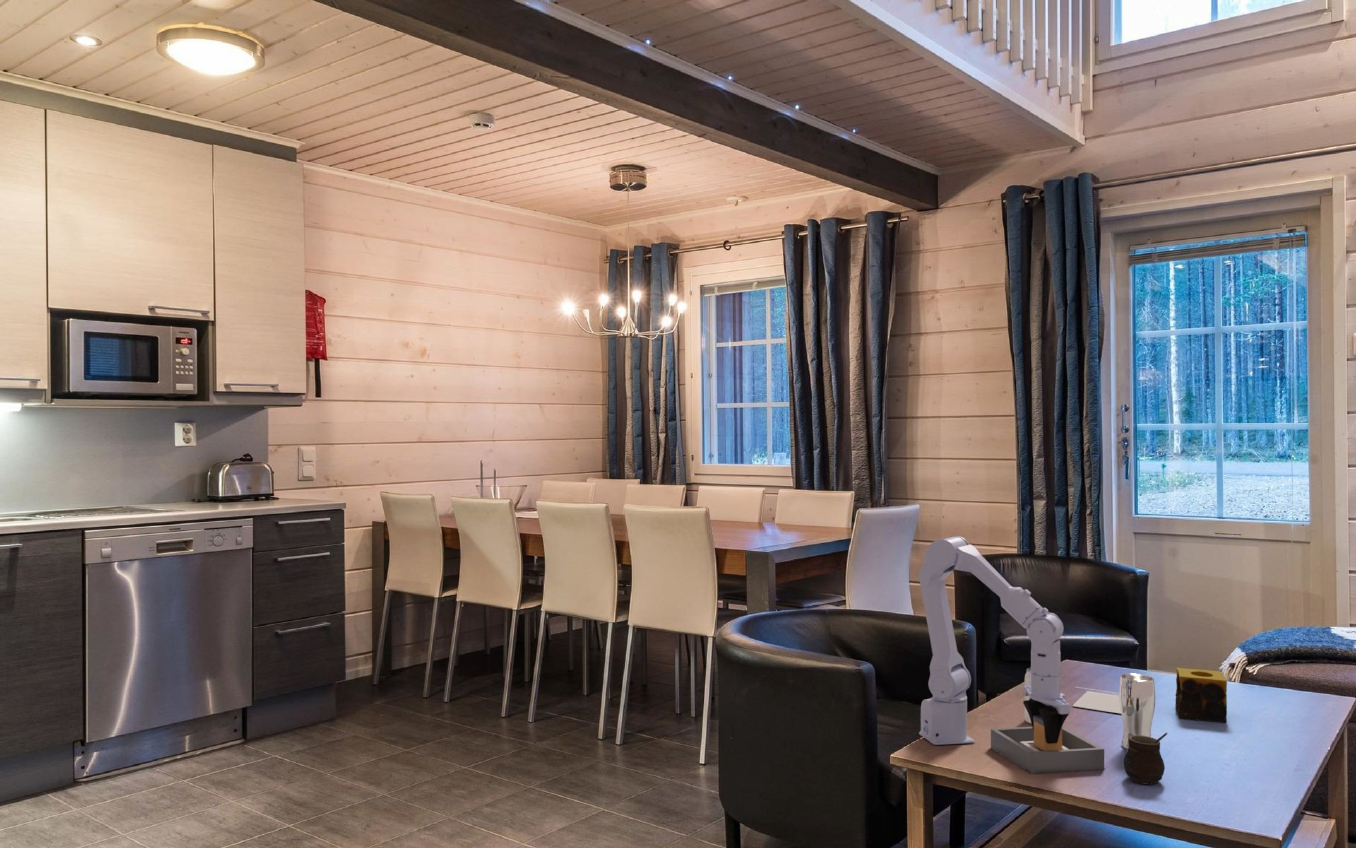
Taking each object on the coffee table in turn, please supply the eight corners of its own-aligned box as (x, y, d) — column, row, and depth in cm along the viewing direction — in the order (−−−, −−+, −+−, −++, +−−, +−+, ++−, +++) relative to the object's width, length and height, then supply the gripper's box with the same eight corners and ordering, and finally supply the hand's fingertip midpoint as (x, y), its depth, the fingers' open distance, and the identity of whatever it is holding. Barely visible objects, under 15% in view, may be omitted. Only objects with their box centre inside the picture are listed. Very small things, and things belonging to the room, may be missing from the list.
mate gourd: (1122, 771, 192) (1122, 721, 192) (1164, 777, 190) (1165, 726, 190) (1123, 784, 186) (1124, 731, 186) (1167, 790, 183) (1168, 737, 183)
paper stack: (1032, 702, 243) (1032, 699, 243) (1057, 681, 263) (1057, 678, 263) (1133, 718, 229) (1133, 715, 229) (1152, 694, 250) (1152, 692, 250)
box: (1030, 773, 191) (1030, 753, 191) (990, 747, 207) (990, 729, 207) (1104, 769, 194) (1104, 749, 194) (1059, 743, 210) (1059, 725, 210)
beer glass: (1152, 744, 209) (1152, 674, 210) (1157, 754, 203) (1157, 682, 203) (1117, 741, 212) (1117, 672, 212) (1121, 750, 205) (1120, 679, 205)
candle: (1178, 719, 228) (1178, 676, 228) (1174, 707, 238) (1174, 666, 238) (1227, 724, 224) (1227, 680, 225) (1221, 712, 234) (1221, 670, 234)
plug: (1043, 751, 198) (1044, 721, 198) (1033, 744, 202) (1033, 715, 202) (1062, 750, 199) (1062, 720, 199) (1051, 743, 203) (1051, 714, 203)
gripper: (1083, 681, 194) (1083, 749, 194) (1044, 664, 208) (1044, 727, 208) (1051, 683, 193) (1051, 751, 193) (1014, 665, 207) (1014, 729, 207)
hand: (1045, 739), depth 200 cm, fingers closed on plug, 4 cm apart
